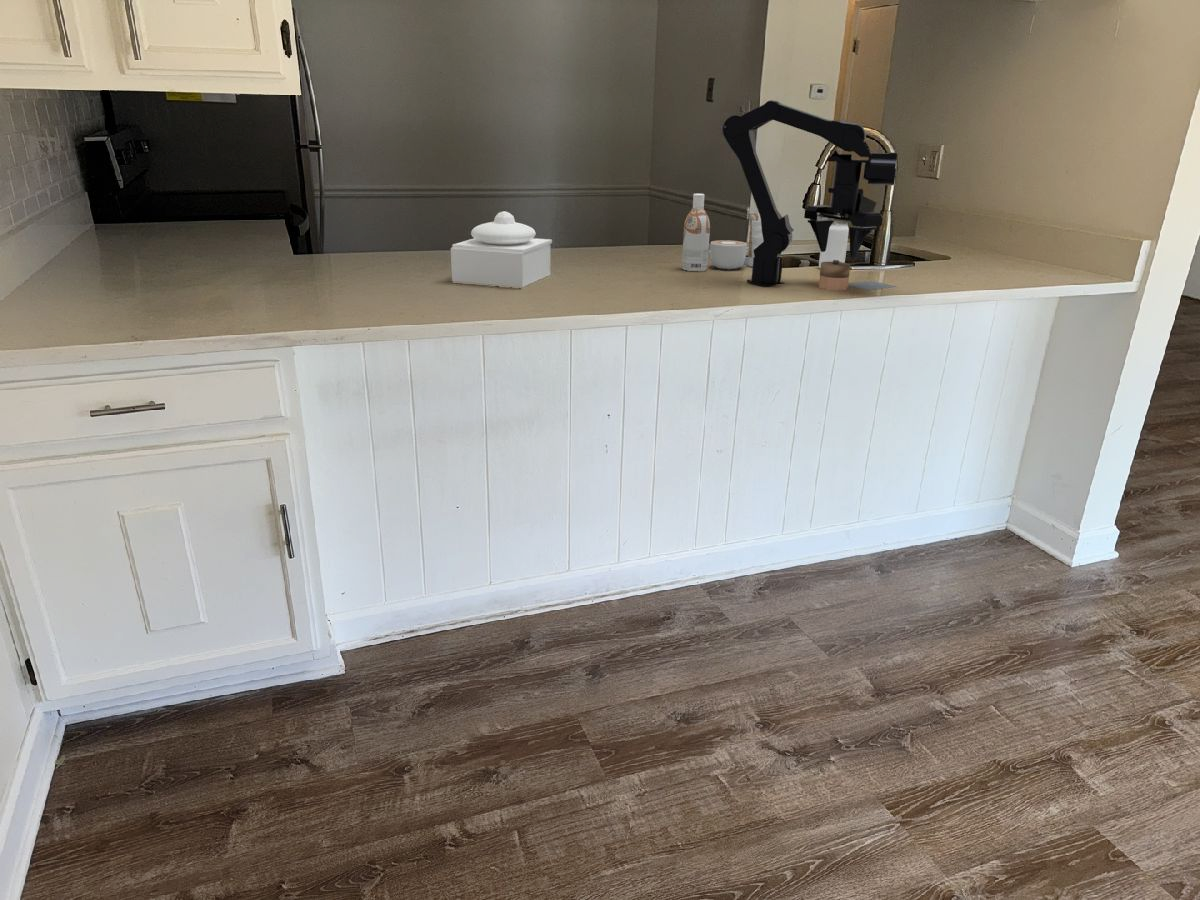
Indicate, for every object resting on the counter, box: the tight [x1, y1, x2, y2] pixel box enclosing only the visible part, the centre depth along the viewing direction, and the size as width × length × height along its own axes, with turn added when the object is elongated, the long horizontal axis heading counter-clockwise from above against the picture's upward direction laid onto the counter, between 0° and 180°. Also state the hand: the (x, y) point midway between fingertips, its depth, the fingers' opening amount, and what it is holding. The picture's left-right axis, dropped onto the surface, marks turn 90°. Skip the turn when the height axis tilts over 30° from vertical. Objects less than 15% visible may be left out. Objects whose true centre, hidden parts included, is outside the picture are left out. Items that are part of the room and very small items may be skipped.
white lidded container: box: [450, 210, 553, 287], centre depth 198 cm, size 18×18×16 cm
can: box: [818, 220, 849, 269], centre depth 221 cm, size 6×6×12 cm
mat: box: [848, 280, 898, 291], centre depth 201 cm, size 10×8×1 cm
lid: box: [819, 260, 851, 278], centre depth 196 cm, size 7×7×3 cm
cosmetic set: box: [681, 193, 764, 272], centre depth 218 cm, size 25×9×19 cm, turn 113°
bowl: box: [818, 274, 850, 292], centre depth 198 cm, size 6×6×3 cm
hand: (837, 254), depth 195 cm, fingers open, 9 cm apart
